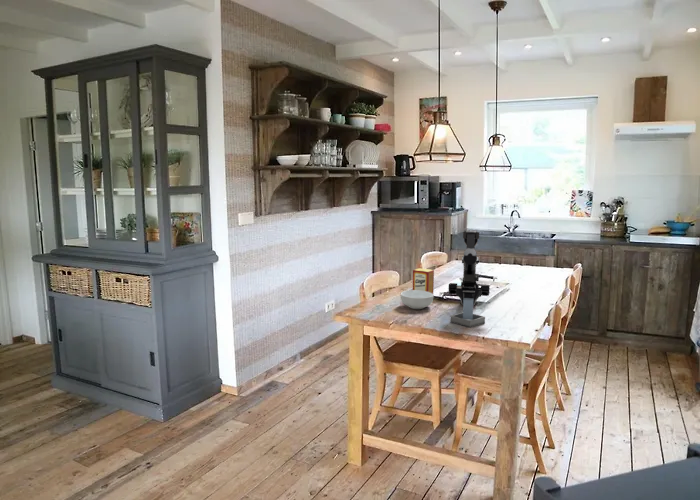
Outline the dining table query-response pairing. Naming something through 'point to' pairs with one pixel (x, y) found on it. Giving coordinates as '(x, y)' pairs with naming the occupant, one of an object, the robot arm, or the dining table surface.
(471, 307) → the slate block
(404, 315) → the dining table surface
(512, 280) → the dining table surface
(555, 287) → the dining table surface
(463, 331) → the dining table surface
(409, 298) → the cereal bowl
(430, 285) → the baking soda box
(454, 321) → the tray
